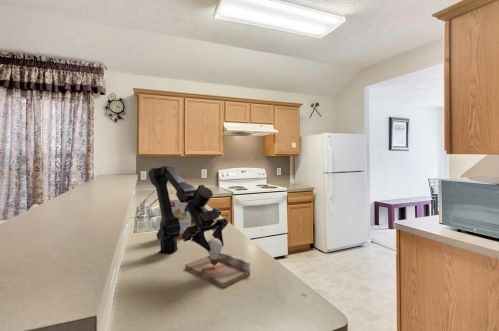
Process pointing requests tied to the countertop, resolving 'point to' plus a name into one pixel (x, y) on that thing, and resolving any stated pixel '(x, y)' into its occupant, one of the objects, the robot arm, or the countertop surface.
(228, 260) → the board
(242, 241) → the countertop surface
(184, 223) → the cracker box
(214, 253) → the light bulb
